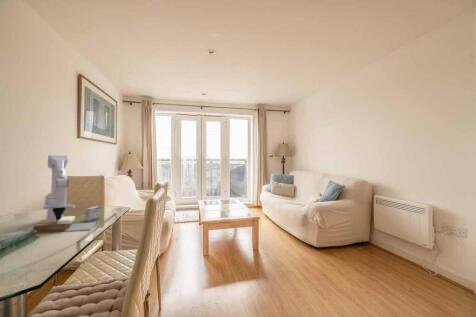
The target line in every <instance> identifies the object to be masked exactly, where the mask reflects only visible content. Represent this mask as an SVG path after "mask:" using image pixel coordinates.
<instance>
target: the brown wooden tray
mask: <svg viewBox="0 0 476 317" xmlns="http://www.w3.org/2000/svg"><path fill="white" fill-rule="evenodd" d="M72 222H73V221H72ZM72 222H71V223H70V224H57V223H58V221H56V219H55V220H46V219H43V220H41V221H40V222H39V223H36V224H34V225H33V229H32V231H33V230H36V231H37V232H36V233H35V234H44V233H46V234H47V233H60V232H65V230H66V229H68V228H69V227H70V226H71V225H72V224H73V223H72Z"/></svg>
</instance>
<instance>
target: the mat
mask: <svg viewBox="0 0 476 317" xmlns="http://www.w3.org/2000/svg"><path fill="white" fill-rule="evenodd" d="M96 224H97V222H94V221H93V222H92V221H91V222H76V223H74V222H73V223H72V225H71V226H70V227H69V228H68V229H66V230H65V231H64V232H65V233H66V232H67V233H68V232H83V231H85V230H86V231H92V229H93V228H94V226H95V225H96Z"/></svg>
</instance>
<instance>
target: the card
mask: <svg viewBox="0 0 476 317" xmlns="http://www.w3.org/2000/svg"><path fill="white" fill-rule="evenodd" d="M75 220H76V215H74V216H73V215H69V216H62V218H61V219H59V220H58V223H57V224H70V223H71V222H74V221H75Z"/></svg>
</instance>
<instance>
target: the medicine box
mask: <svg viewBox="0 0 476 317" xmlns="http://www.w3.org/2000/svg"><path fill="white" fill-rule="evenodd" d="M100 215H101V206H97V205H95V206H91V207H87V208H85V212H84V221H85V222H92V221H93V222H94V221H96V220H99V219H100V217H101V216H100Z"/></svg>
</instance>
